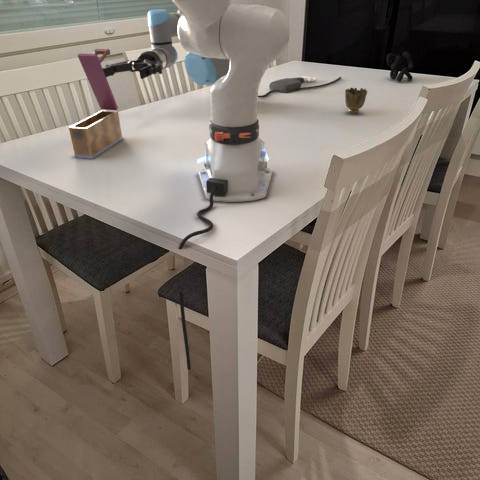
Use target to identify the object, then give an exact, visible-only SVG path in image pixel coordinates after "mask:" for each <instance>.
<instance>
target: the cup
mask: <svg viewBox="0 0 480 480" xmlns="http://www.w3.org/2000/svg"><path fill="white" fill-rule="evenodd" d="M367 94H368V90H367V88H363V87H361V88H360V89H358V88H357V87H355V88H354V87H350V88H346V89H345V90H344V95H345V96H344V97H345V99H344V100H345V101H344V102H345V105H346V108H347V109H348V113H349V114H352V115H356V114H359V113H360V109H362V107H364V105H365V102H366V99H367V98H366V97H367Z"/></svg>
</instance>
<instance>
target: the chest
mask: <svg viewBox="0 0 480 480" xmlns="http://www.w3.org/2000/svg"><path fill="white" fill-rule="evenodd" d="M119 115H120V114H119V111H118V110H106V109H100V111H98V112H96V113H94V114H92V115H90V116H88V117H86V118H84V119H82V120H80V121H78V122H76V123H75V124H72V125H70V126H69V127H68V131H69V135H70V141H71V144H72V148H73V153H74V157H75V158H80V159H88V160H89V159H90V160H93V159H94V158H96V157H98V156H99V155H101V154H102V153H104V152H106V150H108V149H110V148H111V147H112V146H114V145H116V144H117V143H119V142H121V141H122V140H123V139H124V137H123V134H122V128H121V122H120V116H119Z"/></svg>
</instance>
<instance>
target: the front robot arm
mask: <svg viewBox="0 0 480 480" xmlns="http://www.w3.org/2000/svg"><path fill="white" fill-rule="evenodd" d="M171 1H172V2H173V4H174V5H175V7H177V10H178V9H179V10H180V11H181V13H182V14H181V16H180V18H179V21H178V36H177V38H178V41H179V42H180V45H181V46H182V48H183V49H184V51H186V52H187V53H188V52H190V53H193V54H195V55H199V56H202V57H205V58H217V59H229V60H230V67H229V72H228V74H227V75H225V76H223V77H221V78H219V79H218V80H217V81H215V83H213V84H211V88H210V90H209V102H210V103H209V105H210V106H209V107H210V120H209V126H208V129H209V139H208V140H207V141H206V142H205V143H204V144H205V145H204V148H205V149H204V150H205V152H204V153H205V156H202V157H200V158H198V159H197V160H196V163H197V164H200V163H203V162H204V164H203V165H204V168H203V169H201V170H199V171H198V178H199V181H200V185H201V187H202V190H203V193H204V196H205V199H206V200H209V205H208V206H207V207H205V208H202V209H200V210H198V211H197V217H198V219H200V220H201V221H203V222H205V223H207V224H208V227H206V228H204V229H199V230H196V231H193V232H191V233H189V234H187V235H186V236H185V237H184V238H183V239H182V240H181V241H180V243H179V244H178V245H179V246H178V250H182V249H183V248H184V246H185V244H186V243H187V242H188V241H189V240H190V239H191V238H193V237H196V236H199V235H203V234H206V233H209V232H210V231H211V230H212V229H213V227H214V223H213V222H212V221H211V220H210V219H208V218H206V217H205V216H203V215H202V214H203V213H207V212H208V211H210V210H212V209H213V206H214V202H222V203H223V202H225V203H240V202H253V201H257V200H261V199H264V198H266V196H267V193H268V190H269V187H270V186H269V185H270V183H271V180H272V177H273V170H272V169H271V168H269V167H268V161H269V156H268V154H267V151H266V149H265V141H263V140H262V138H260V121H259V118H258V103H259V101H258V100H259V97H258V96H259V90H260V85H261V82H262V79H263V76H264V75H265V72H266V71H267V69H268V68H269V67H270V66H271V64H272V63H274V62H275V61H276V60H277V59H279V58H280V57H281V56H282V55H283V54H284V52H285V51H286V49H287V46H288V44H289V41H290V26H289V21H288V19H287V17H286V15H285V14H284V12H283V11H282V10H281V9H277V8H275V7H271V6H268V5H264V4H255V3H254V4H252V3H250V4H249V3H247V4H246V3H231V2H232V0H171ZM64 2H65V3H67V4H68V3H69V4H71V3H74V2H75V0H64ZM265 159H266V160H265ZM184 300H185V299H184V293H183V292H182V291H181V290H179V308H180V318H181V319H180V320H181V327H182V334H183V341H184V343H183V344H184V350H185V357H186V358H185V359H186V368H187V370H188V371H191V369H192V367H191V357H190V348H189V340H188V331H187V323H186V314H185V301H184Z"/></svg>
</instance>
